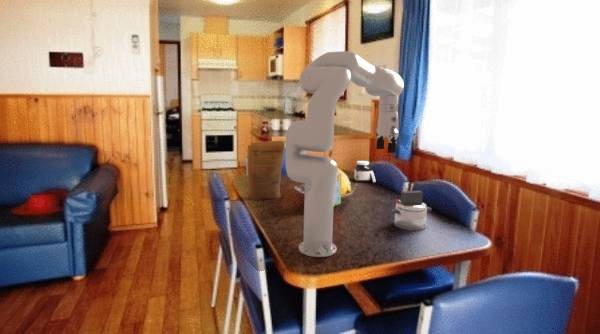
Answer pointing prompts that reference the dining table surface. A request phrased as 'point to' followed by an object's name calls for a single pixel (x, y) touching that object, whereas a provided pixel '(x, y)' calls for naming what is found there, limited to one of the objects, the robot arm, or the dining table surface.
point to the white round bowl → (411, 201)
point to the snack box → (336, 192)
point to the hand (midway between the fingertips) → (385, 150)
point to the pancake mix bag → (264, 169)
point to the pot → (410, 218)
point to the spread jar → (363, 172)
